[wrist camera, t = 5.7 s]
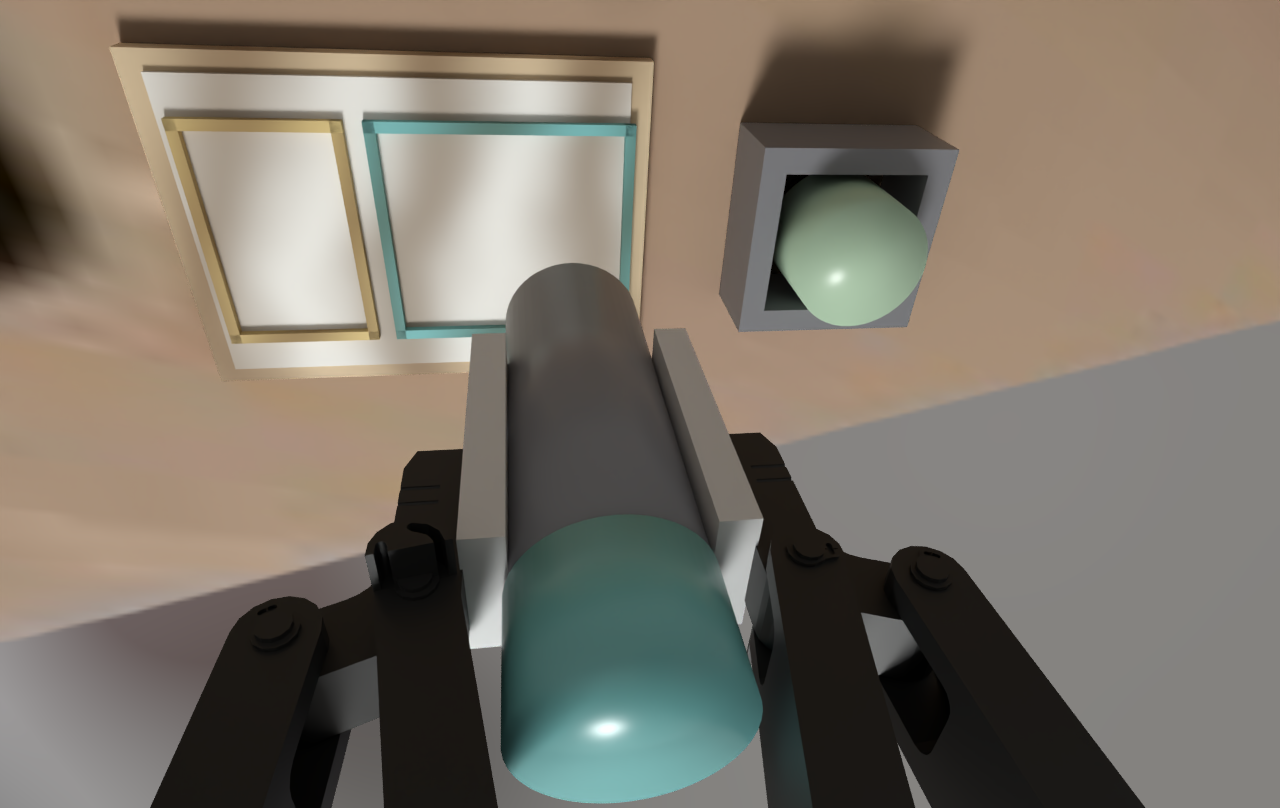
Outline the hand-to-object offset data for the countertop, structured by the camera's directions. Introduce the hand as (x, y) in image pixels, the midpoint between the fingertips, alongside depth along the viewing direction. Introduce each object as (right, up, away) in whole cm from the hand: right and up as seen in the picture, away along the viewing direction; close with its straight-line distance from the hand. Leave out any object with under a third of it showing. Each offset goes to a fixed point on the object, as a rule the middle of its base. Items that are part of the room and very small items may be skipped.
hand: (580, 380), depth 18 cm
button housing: (+9, +8, +14) cm, 18 cm away
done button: (+9, +7, +12) cm, 17 cm away
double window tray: (-7, +7, +12) cm, 15 cm away
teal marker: (0, +2, +2) cm, 3 cm away
